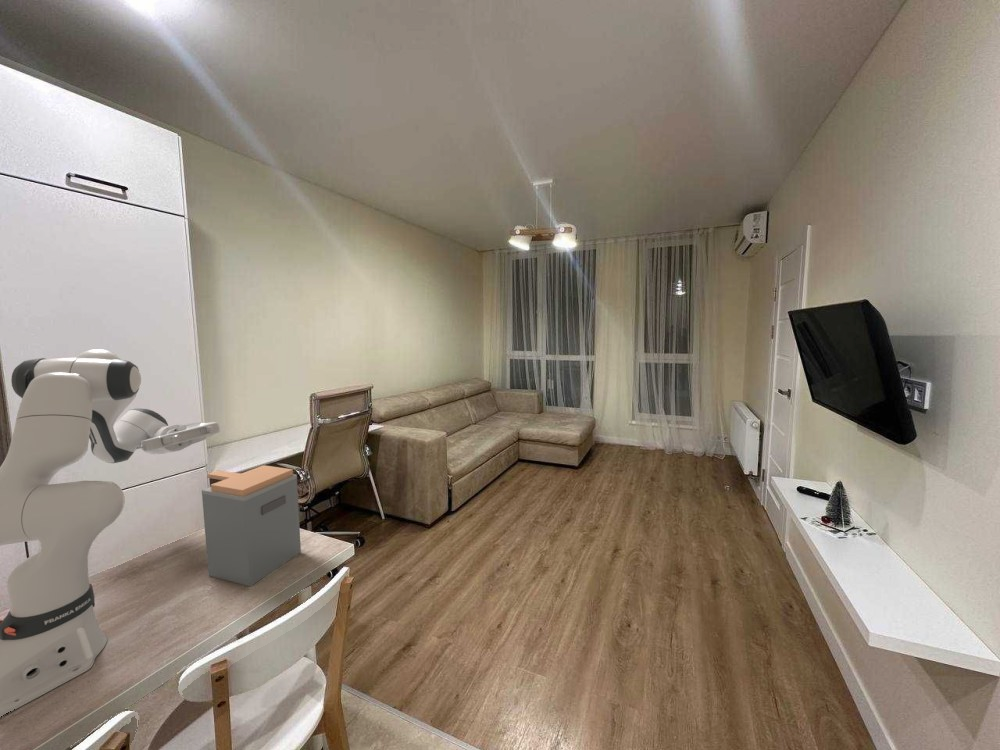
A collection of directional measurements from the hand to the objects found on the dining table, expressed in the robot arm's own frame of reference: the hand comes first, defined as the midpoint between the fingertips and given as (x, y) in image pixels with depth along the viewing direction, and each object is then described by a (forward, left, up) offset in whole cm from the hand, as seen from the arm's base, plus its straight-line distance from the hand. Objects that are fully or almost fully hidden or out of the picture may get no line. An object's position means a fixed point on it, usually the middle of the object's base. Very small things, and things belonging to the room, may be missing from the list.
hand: (193, 433), depth 123 cm
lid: (-1, -20, -13) cm, 23 cm away
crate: (-1, -24, -39) cm, 46 cm away
